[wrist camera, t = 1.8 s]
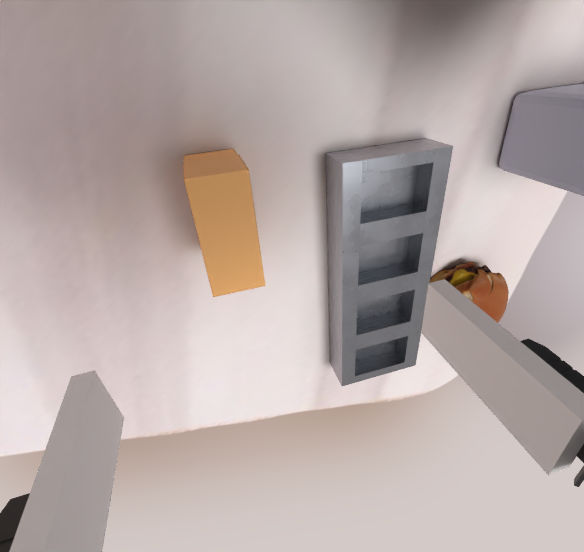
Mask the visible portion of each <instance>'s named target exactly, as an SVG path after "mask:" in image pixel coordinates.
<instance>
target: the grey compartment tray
mask: <svg viewBox="0 0 584 552" xmlns="http://www.w3.org/2000/svg"><path fill="white" fill-rule="evenodd" d="M452 149H453V146H451V145H447V144H444V143H441V142H437V141H434V140H430V139H427V138H424V139H417V140H411V141H404V142H397V143H390V144H384V145H377V146H370V147H364V148H357V149H350V150H344V151H337V152H330V153H326V186H327V231H328V277H329V323H330V364H331V366H332V368H333V370H334V372H335V374H336V376H337V377H338V379H339V381H340V383H341V385H342V386H345V385H348V384H352V383H355V382H359V381H362V380H366V379H369V378H372V377H376V376H379V375H383V374H386V373H390V372H393V371H397V370H400V369H404V368H407V367H411V366H414V365H415V364H416V358H417V353H418V347H419V341H420V335H421V329H422V323H423V317H424V310H425V303H426V296H427V289H428V283H430V277H431V271H432V265H433V260H434V254H435V248H436V242H437V236H438V230H439V225H440V219H441V213H442V207H443V201H444V196H445V190H446V184H447V178H448V172H449V167H450V161H451V155H452Z"/></svg>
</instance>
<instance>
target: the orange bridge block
mask: <svg viewBox="0 0 584 552" xmlns="http://www.w3.org/2000/svg"><path fill="white" fill-rule="evenodd" d="M183 171H184V182H185V186H186V190H187V194H188V198H189V202H190V206H191V210H192V214H193V218H194V222H195V226H196V230H197V234H198V238H199V242H200V246H201V250H202V254H203V258H204V262H205V266H206V270H207V274H208V278H209V282H210V286H211V290H212V294H213V297H216V296H221V295H225V294H230V293H234V292H239V291H243V290H248V289H253V288H257V287H262V286H265V280H264V273H263V266H262V259H261V252H260V245H259V238H258V231H257V224H256V217H255V210H254V204H253V197H252V190H251V183H250V176H249V169H248V168H247V166H246V165H245V163H244V162H243V160H242V159H241V157H240V156H239V155H237V153H236V152H235V150H234V149H227V150H220V151H213V152H206V153H199V154H191V155H184V162H183Z"/></svg>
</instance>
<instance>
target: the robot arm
mask: <svg viewBox="0 0 584 552" xmlns="http://www.w3.org/2000/svg"><path fill="white" fill-rule="evenodd" d="M421 333H422V334H423V335H424V336H425V337H426V338H427V340H428V341H429V342H430V343H431V344H432V345H433V346H434V347H435V349H436V350H437V351H438V352H439V353H440V354H441V355H442V356H443V357H444V359H445V360H446V361H447V362H448V363H449V364H450V365H451V366H452V368H453V369H454V370H455V371H456V372H457V373H458V374H459V375H460V377H461V378H462V379H463V380H464V381H465V382H466V383H467V384H468V385H469V387H470V388H471V389H472V390H473V391H474V392H475V393H476V394H477V396H478V397H479V398H480V399H481V400H482V401H483V402H484V404H485V405H486V406H487V407H488V408H489V409H490V410H491V411H492V412H493V414H494V415H495V416H496V417H497V418H498V419H499V420H500V421H501V422H502V424H503V425H504V426H505V427H506V428H507V429H508V430H509V431H510V433H511V434H512V435H513V436H514V437H515V438H516V439H517V440H518V442H519V443H520V444H521V445H522V446H523V447H524V448H525V450H526V451H527V452H528V453H529V454H530V455H531V456H532V457H533V458H534V460H535V461H536V462H537V463H538V464H539V465H540V466H541V468H542V469H543V470H544V471H545V472H546V473H547V474H548V475H550V474H553V473H555V472H558V471H560V470H563V469H565V468H568V467H570V465H571V464H572V462H573V461H574V459H575V457H576V456H577V457H578V458H579V459H580V460H581V461H582V462H583V463H584V376H583V375H581V374H580V373H579V372H577V371H576V370H573V369H572V367H571V366H570V365H568V364H567V363H566V362H565V361H561V359H560V358H559V357H558V356H557V355H556V354H554V353H553V352H552V351H550V350H549V349H548V348H546V347H545V346H543V345H541V344H538V343H536V342H534V341H532V340H530V339H526V340H523V341H519V340H518V339H517V338H516V337H514V336H513V335H512V334H511V333H510V332H508V331H507V330H506V329H505V328H503V327H502V326H501V325H500V324H498V323H497V322H496V321H495V320H494V319H492V318H491V317H490V316H489V315H488V314H486V313H485V312H484V311H483V310H481V309H480V308H479V307H478V306H477V305H475V304H474V303H473V302H472V301H471V300H469V299H468V298H467V297H466V296H464V295H463V294H462V293H461V292H460V291H458V290H457V289H456V288H455V287H453V286H452V285H451V284H450V283H449V282H447V281H446V280H445V279H444V280H440V281H436V282H432V283H428V289H427V296H426V303H425V310H424V317H423V324H422V331H421ZM123 421H124V417H123V415H122V414H121V412H120V410H119V409H118V407H117V406H116V404H115V402H114V401H113V399H112V398H111V396H110V394H109V393H108V391H107V390H106V388H105V386H104V385H103V383H102V382H101V380H100V378H99V377H98V375H97V374H96V372H95V371H91V372H87V373H83V374H79V375H76V376H72V377H71V379H70V382H69V385H68V387H67V390H66V393H65V396H64V399H63V402H62V404H61V407H60V410H59V413H58V416H57V419H56V421H55V424H54V427H53V430H52V433H51V435H50V438H49V441H48V444H47V447H46V450H45V452H44V455H43V458H42V461H41V464H40V466H39V469H38V472H37V475H36V478H35V481H34V483H33V486H32V489H31V492H30V493H29V494H26V495H23V496H19V497H16V498H13V499H10V501H9V502H8V503H7V505H6V506H5V508H4V509H3V510H2V512H1V513H0V552H102V548H103V542H104V536H105V530H106V524H107V518H108V512H109V506H110V500H111V494H112V488H113V481H114V475H115V469H116V463H117V457H118V451H119V445H120V439H121V433H122V427H123ZM583 480H584V466H583V467H582V469H581V470H580V472H579V473H578V475H577V476H576V477H575V480H574V485H575V486H577V487H579V486H580V484H581V483H582V481H583Z"/></svg>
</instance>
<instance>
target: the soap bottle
mask: <svg viewBox="0 0 584 552" xmlns="http://www.w3.org/2000/svg"><path fill="white" fill-rule="evenodd" d="M499 167H500V168H501V169H503V170H505V171H508V172H511V173H514V174H517V175H520V176H524V177H527V178H530V179H533V180H536V181H539V182H542V183H545V184H548V185H551V186H555V187H558V188H561V189H564V190H567V191H570V192H573V193H576V194H580V195H583V196H584V83H582V84H575V85H568V86H561V87H554V88H547V89H540V90H533V91H528V92H524V93H521V94H518V95H517V96H516V98H515V100H514V103H513V107H512V111H511V115H510V119H509V123H508V127H507V132H506V136H505V140H504V144H503V148H502V152H501V156H500V161H499Z"/></svg>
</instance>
